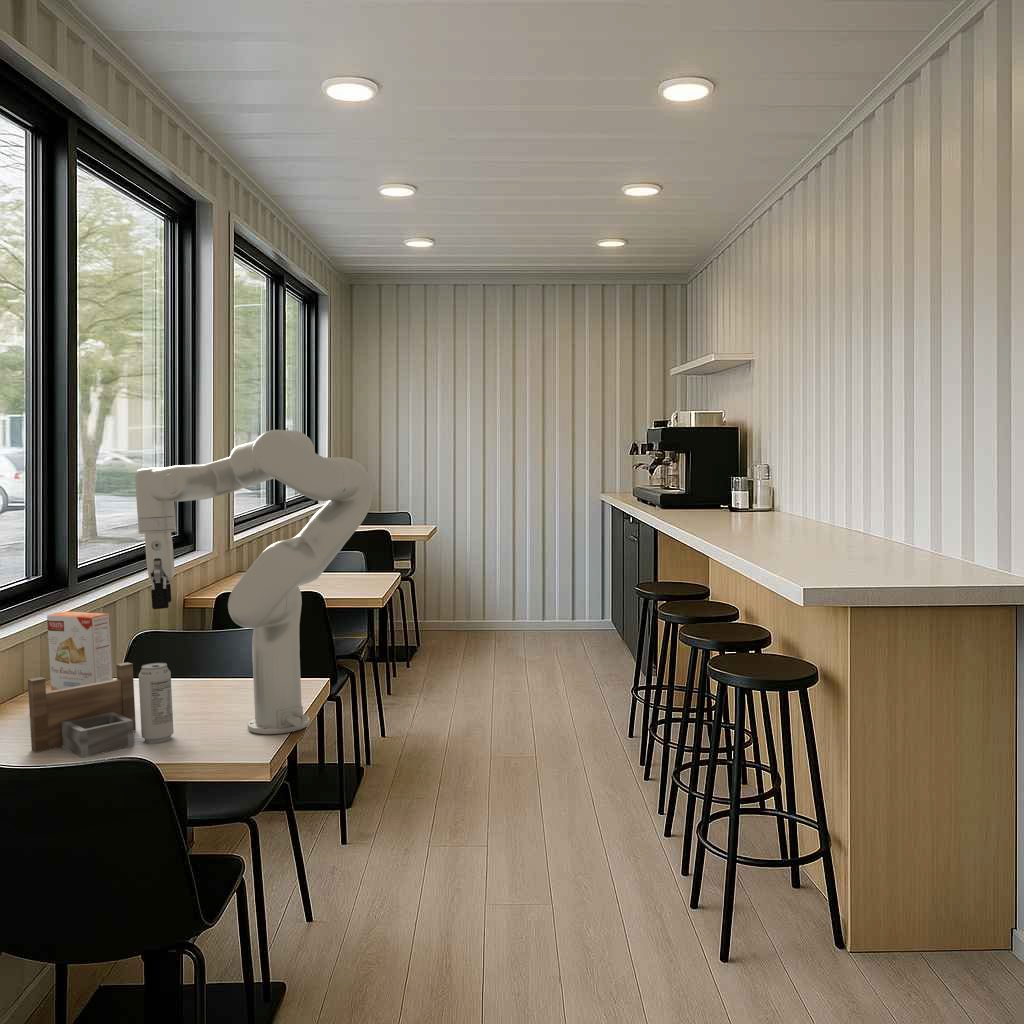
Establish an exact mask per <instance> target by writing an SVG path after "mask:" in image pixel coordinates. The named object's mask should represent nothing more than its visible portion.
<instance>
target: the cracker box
mask: <svg viewBox="0 0 1024 1024" xmlns="http://www.w3.org/2000/svg"><path fill="white" fill-rule="evenodd" d="M110 617H111V615H110V613H103V612H102V613H101V612H100V613H99V612H83V611H69V610H68V611H67V610H66V611H60V612H55V613H50V614H47V615H46V619H47V620H46V622H47V639H48V640H47V641H48V654H49V655H48V656H49V658H48V659H49V673H50V675H49V677H50V691H52V690H58V689H63V688H69V687H75V686H80V685H86V684H91V683H97V682H102V681H108V680H113V679H114V674H113V673H114V672H113V655H112V654H113V653H112V639H111V637H112V635H111V633H112V632H111V618H110Z"/></svg>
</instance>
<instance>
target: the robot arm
mask: <svg viewBox="0 0 1024 1024" xmlns="http://www.w3.org/2000/svg"><path fill="white" fill-rule="evenodd" d="M315 451H316V450H315V446H314V444H313V441H312V440H311V438H310V437H309V436H307V434H305V433H303V432H301V431H297V430H293V429H292V430H288V429H287V430H286V429H272V430H268V431H265V432H263V433H262V434H261V435H259V436H258V437H257V438H256V440H253V441H250V442H246V443H243V444H240V445H237V446H235V447H234V448H233V449H232V450H231V453H230V455H229V457H228V456H227V457H225V458H222V459H218V460H217V461H212V462H209V463H205V464H185V465H183V464H182V465H180V464H179V465H172V466H166V467H148V468H146V467H144V468H140V469H137V470H136V472H135V475H134V480H135V482H134V484H135V495H136V496H135V498H136V514H137V527H138V529H137V530H138V534H139V535H144V547H145V558H146V567H147V574H148V575H147V576H148V579H149V580H150V581H151V590H150V592H151V593H150V594H151V596H150V597H151V608H152V609H153V610H162V609H168V608H169V605H170V604H169V603H171V602H172V591H171V590H172V589H171V583H170V580H171V579H173V578H174V576H175V575H176V573H175V572H176V570H175V568H176V567H175V559H174V558H175V557H174V546H173V545H174V544H173V537H172V533H175V532H177V526H176V508H175V502H188V501H189V502H190V501H202V500H208V499H209V500H210V499H213V498H217V497H220V496H223V495H224V496H225V495H227V494H231V493H233V492H236V491H240V490H242V489H245V488H249V487H251V486H254V485H257V484H261V483H263V482H267V481H269V480H274V479H275V480H276V481H278V482H280V483H282V484H284V485H285V486H287V487H289V488H290V489H292V490H294V491H296V492H297V493H299V494H301V495H303V496H304V497H306V498H308V499H310V500H313V501H318V502H326V503H325V504H324V505H323V506H322V507H320V509H319V510H318V511H317V512H315V514H314V515H312V517H311V518H310V520H309V521H308V523H307V524H306V525H305V526H304V527H303V528H302V529H301V530H300V532H299V533H298V534H297V535H295V536H294V537H291V538H289V539H288V538H287V539H283V540H279V541H276V542H274V543H272V544H270V545H269V546H267V547H266V548H265V549H264V550H263V551H262V552H261V553H260V554H259V555H258V557H257V558H256V559H255V560H254V562H252V564H251V565H250V566H249V568H248V569H247V570H246V572H244V574H243V576H242V577H240V579H239V580H238V582H237V583H236V584H235V586H234V587H233V588H232V590H231V591H230V594H229V597H228V602H227V609H228V611H227V612H228V614H229V616H230V618H231V620H232V621H233V623H235V624H236V625H237V626H240V627H242V628H245V629H253V632H252V640H251V643H252V644H251V648H252V649H251V650H252V652H251V653H252V654H251V655H252V678H253V699H254V700H253V701H254V703H253V704H254V718H253V719H251V720H249V721H248V722H247V730H248V731H249V732H251V733H253V734H259V735H278V734H287V733H293V732H298V731H300V730H303V729H305V728H307V727H308V726H310V724H311V718H310V717H309V716H308V715H307V714H304V710H303V705H302V704H303V703H302V685H301V684H302V683H301V680H302V679H301V658H300V654H301V653H300V648H301V647H300V646H301V645H300V623H301V613H302V605H303V601H302V597H303V596H302V591H301V589H300V586H303V585H307V584H309V583H312V582H314V581H316V580H317V579H318V578H320V576H321V575H322V574H323V573H324V571H325V570H326V569H327V567H328V566H329V565H330V563H331V562H332V561H333V560H334V559H335V558H336V556H337V555H338V553H339V552H340V551H341V550H342V549H343V547H344V546H345V545H346V543H347V542H348V541H349V540H350V539H351V537H352V535H354V533H355V532H356V531H357V530H358V528H359V527H360V526H361V524H362V523H363V522H364V520H365V518H366V516H367V515H368V513H369V510H370V507H371V504H372V500H373V486H372V481H371V478H370V475H369V473H368V472H367V470H366V468H365V467H364V466H363V464H361V462H358V461H357V460H354V459H352V458H348V457H340V456H338V457H335V456H333V457H328V456H327V457H323V456H321V455H319V454H318V453H316V452H315Z"/></svg>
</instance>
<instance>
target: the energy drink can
mask: <svg viewBox="0 0 1024 1024" xmlns="http://www.w3.org/2000/svg"><path fill="white" fill-rule="evenodd" d="M171 675H172V674H171V670H170V669H169V668H168V664H167V663H166V662H153V663H146V664H142V666H141V669H140V671H139V673H138V688H139V710H140V714H139V715H140V731H141V738H142V739H144V742H145V743H147V744H158V743H162V742H163V743H164V742H166V741H170V738H172V735H174V717H173V716H174V715H173V712H174V711H173V693H172V676H171Z"/></svg>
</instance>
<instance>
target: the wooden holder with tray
mask: <svg viewBox="0 0 1024 1024" xmlns="http://www.w3.org/2000/svg"><path fill="white" fill-rule="evenodd" d="M46 686H47V685H46V678H45V677H41V676H37V677H33V678H27V687H28V689H27V690H28V707H29V710H28V711H29V724H30V725H29V726H30V743H31V744H30V746H31V751H33V752H35V753H39V752H44V751H48V750H52V749H55V748H61V747H62V748H64V749H65V750H67V751H69V752H71V753H72V754H75V755H76V756H78V757H80V758H86V757H91V756H95V755H99V754H103V753H106V752H107V753H108V752H112V751H117V750H121V749H126V748H129V747H133V746H135V733H134V731H137V728H136V727H137V724H136V723H137V722H136V709H135V708H136V705H135V686H134V664H133V663H131V662H127V661H126V662H122V663H116V678H113V680H108V681H102V682H97V683H91V684H86V685H80V686H75V687H69V688H63V689H58V690H52V691H51V690H48V691H47V689H46V688H47V687H46Z"/></svg>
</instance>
